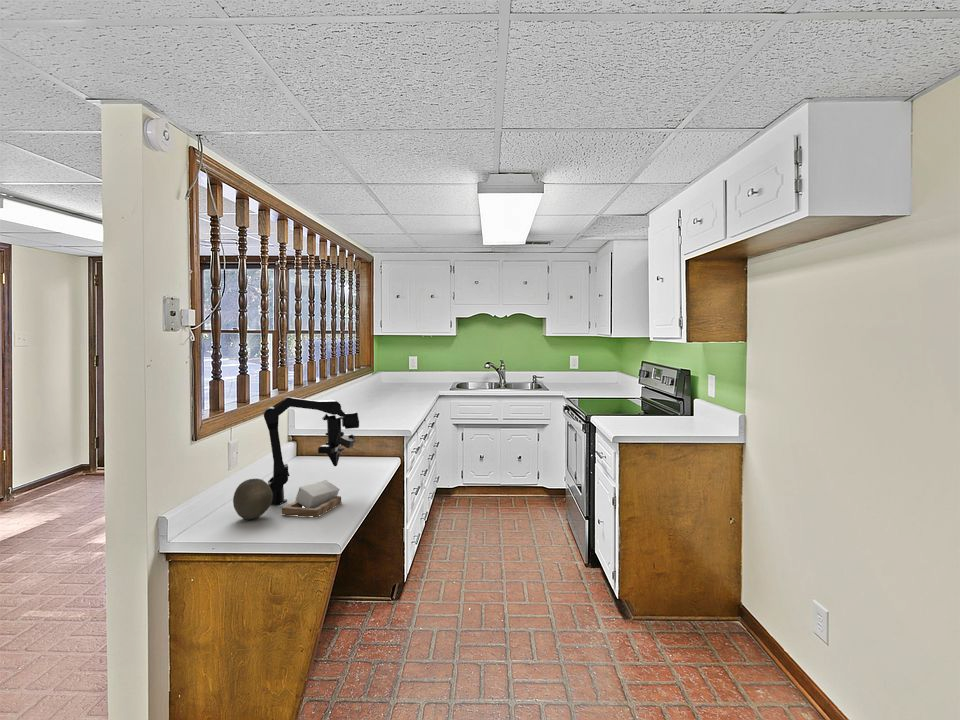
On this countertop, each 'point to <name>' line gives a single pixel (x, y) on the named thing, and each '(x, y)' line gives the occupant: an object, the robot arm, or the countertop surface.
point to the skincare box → (316, 494)
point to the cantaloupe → (252, 498)
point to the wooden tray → (297, 508)
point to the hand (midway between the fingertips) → (335, 466)
